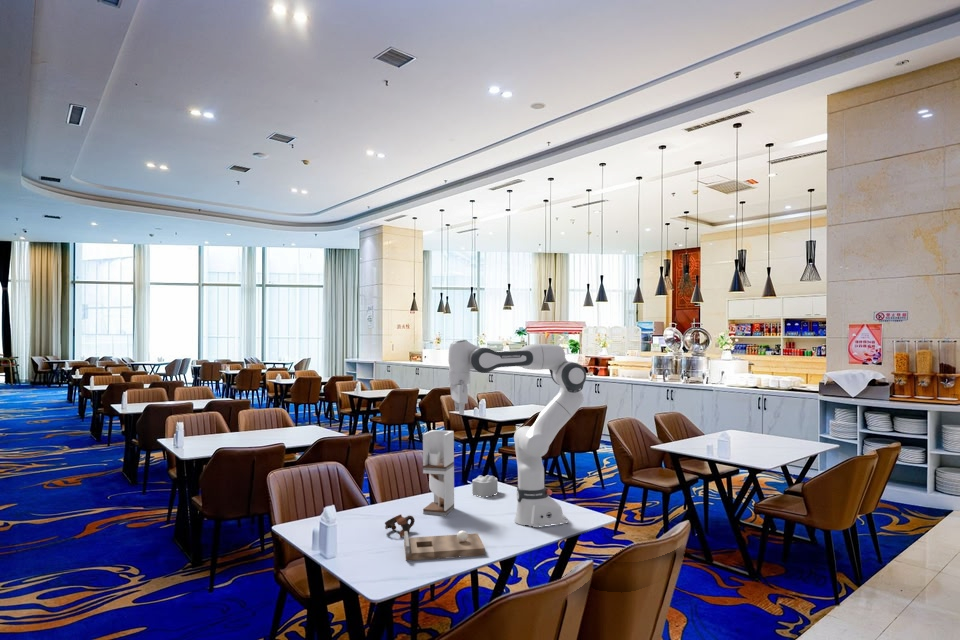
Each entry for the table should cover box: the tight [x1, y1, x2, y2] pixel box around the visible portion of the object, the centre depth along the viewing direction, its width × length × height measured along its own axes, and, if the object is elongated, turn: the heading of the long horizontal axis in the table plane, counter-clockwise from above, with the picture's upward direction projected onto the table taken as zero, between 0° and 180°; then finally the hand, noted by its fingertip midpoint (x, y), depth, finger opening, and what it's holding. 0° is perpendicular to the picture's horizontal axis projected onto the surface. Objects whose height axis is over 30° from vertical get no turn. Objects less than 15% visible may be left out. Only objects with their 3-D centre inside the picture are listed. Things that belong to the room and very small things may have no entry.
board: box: [403, 531, 486, 562], centre depth 211 cm, size 28×16×5 cm, turn 100°
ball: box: [456, 530, 469, 542], centre depth 212 cm, size 4×4×4 cm
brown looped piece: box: [384, 514, 415, 538], centre depth 230 cm, size 12×10×8 cm
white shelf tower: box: [422, 429, 455, 516], centre depth 259 cm, size 11×11×35 cm
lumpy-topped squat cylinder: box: [471, 474, 499, 498], centre depth 287 cm, size 10×13×9 cm
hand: (459, 412), depth 239 cm, fingers open, 8 cm apart
